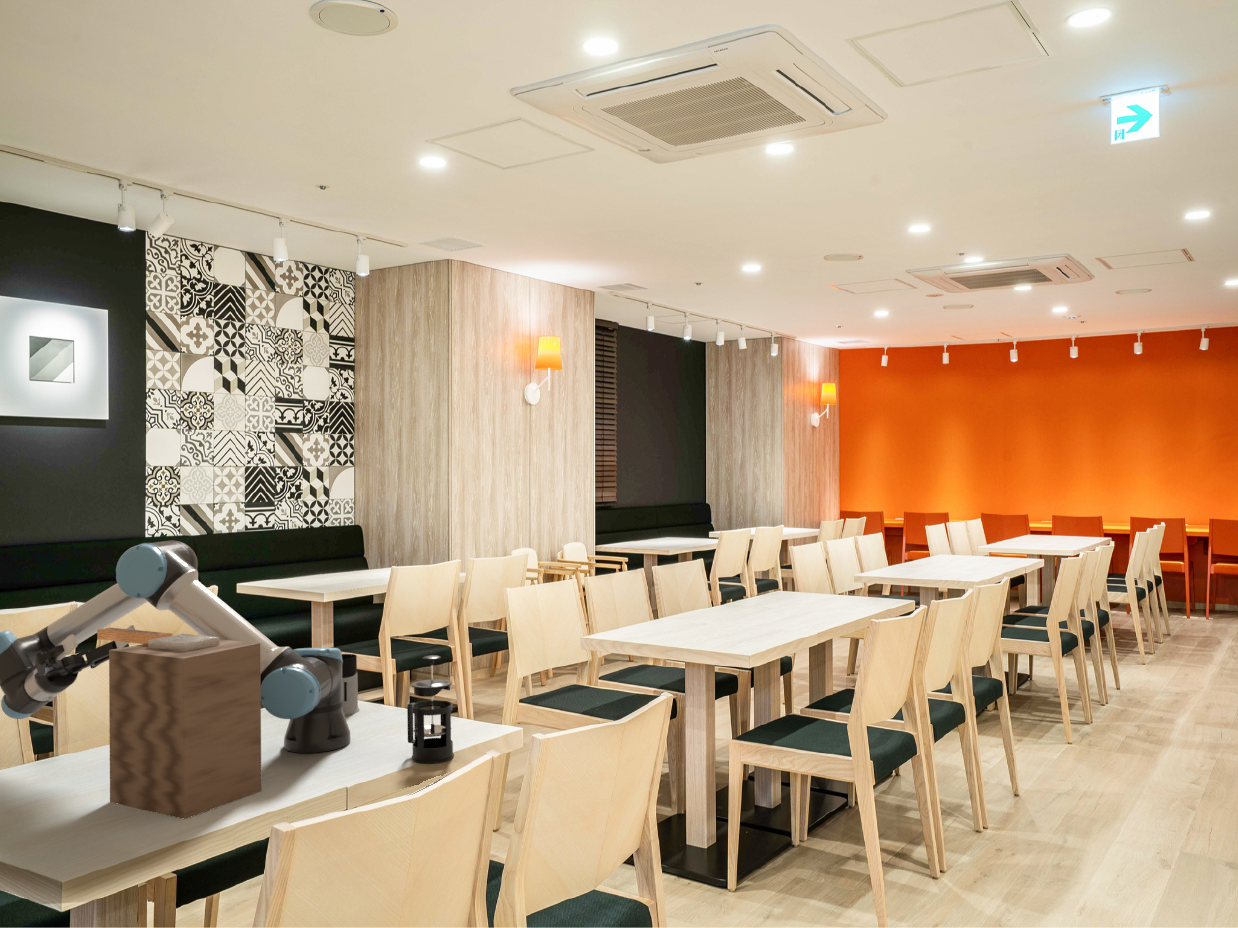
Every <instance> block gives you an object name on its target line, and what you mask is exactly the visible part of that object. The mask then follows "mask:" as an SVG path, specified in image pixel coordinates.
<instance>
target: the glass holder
mask: <svg viewBox="0 0 1238 928" xmlns="http://www.w3.org/2000/svg"><path fill="white" fill-rule="evenodd" d="M342 660H343V664H342V708H343V713H344V716H347V715H348V716H349V715H353V714H357V713H358V712H360V708H359V703H358V702H359V701H358V697H359V696H358V695H359V694H358V693H359V692H358V690H359V689H358V688H359V686H358V683H359V682H358V670H357V669H358V665H357V664H358V663H357V662H358V659H357V654H355V653H354V654H353V653H342Z"/></svg>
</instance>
